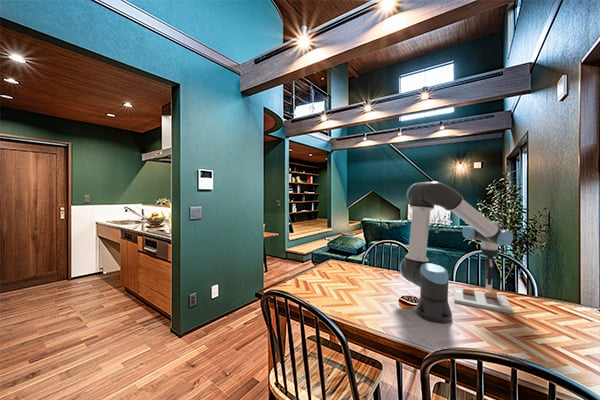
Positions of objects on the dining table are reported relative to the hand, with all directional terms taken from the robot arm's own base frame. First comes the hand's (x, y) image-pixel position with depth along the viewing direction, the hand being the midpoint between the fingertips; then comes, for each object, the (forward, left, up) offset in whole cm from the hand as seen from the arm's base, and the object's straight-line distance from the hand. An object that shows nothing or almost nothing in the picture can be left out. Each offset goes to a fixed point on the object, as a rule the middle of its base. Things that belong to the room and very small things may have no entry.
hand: (488, 289), depth 137 cm
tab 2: (-7, 0, -1) cm, 7 cm away
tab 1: (-7, +10, -1) cm, 12 cm away
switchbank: (-11, +5, -3) cm, 12 cm away
